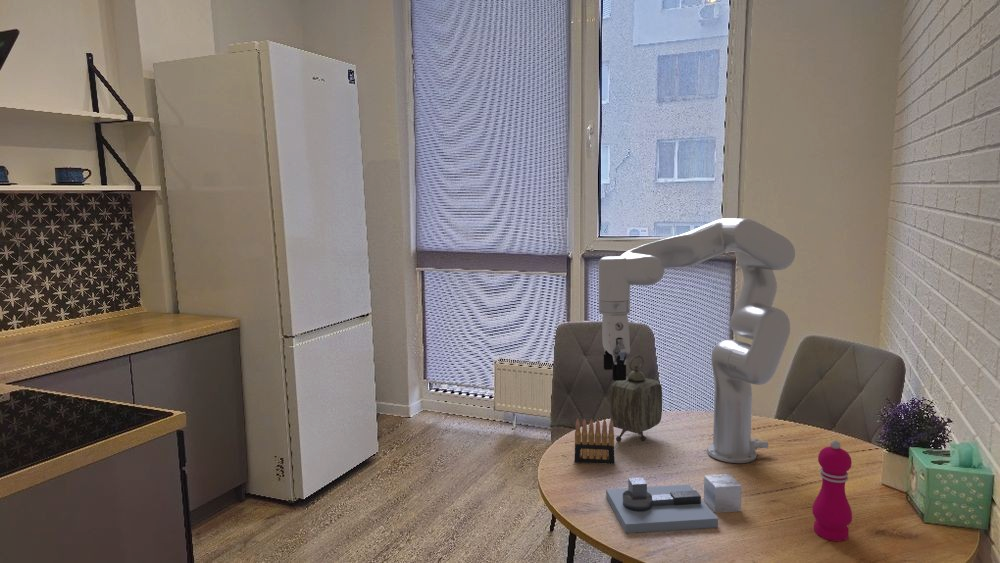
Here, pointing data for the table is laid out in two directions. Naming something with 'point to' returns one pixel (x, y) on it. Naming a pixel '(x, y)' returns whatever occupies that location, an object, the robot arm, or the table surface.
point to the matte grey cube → (722, 493)
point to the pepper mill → (833, 494)
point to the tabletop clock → (635, 402)
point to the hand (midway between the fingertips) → (614, 374)
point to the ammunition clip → (593, 451)
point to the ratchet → (654, 497)
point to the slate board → (661, 513)
